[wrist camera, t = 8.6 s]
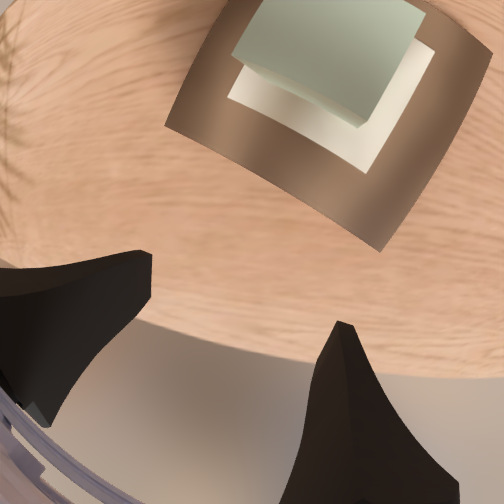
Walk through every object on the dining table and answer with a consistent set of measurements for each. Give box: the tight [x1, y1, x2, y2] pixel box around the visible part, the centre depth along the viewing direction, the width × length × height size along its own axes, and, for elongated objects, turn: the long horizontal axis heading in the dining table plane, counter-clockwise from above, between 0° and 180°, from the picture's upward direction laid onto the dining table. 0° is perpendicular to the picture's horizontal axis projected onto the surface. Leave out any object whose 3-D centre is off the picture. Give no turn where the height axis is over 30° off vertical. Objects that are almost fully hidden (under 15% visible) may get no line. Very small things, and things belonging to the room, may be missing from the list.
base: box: [164, 0, 493, 252], centre depth 12 cm, size 14×14×3 cm
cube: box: [231, 0, 426, 129], centre depth 9 cm, size 5×5×5 cm
